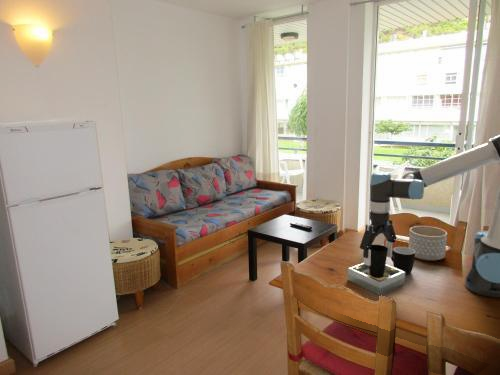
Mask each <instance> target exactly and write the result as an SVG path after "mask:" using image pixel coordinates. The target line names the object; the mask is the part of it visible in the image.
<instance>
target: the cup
mask: <svg viewBox="0 0 500 375" xmlns="http://www.w3.org/2000/svg"><path fill="white" fill-rule="evenodd" d="M369 250H371V264H370V266H369V273H370V276H372V277H375V278H381V277H383V276H384V270H385V264H387V252H388V248H387V247H386V245H384V246H382V245H371V247H370V249H369Z"/></svg>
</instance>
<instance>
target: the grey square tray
mask: <svg viewBox="0 0 500 375" xmlns="http://www.w3.org/2000/svg"><path fill="white" fill-rule="evenodd" d="M405 278H406V275H405V271H402V270H399V269H397V268H394V266H392V265H389V264H387V263H386V264H385V270H384V276H383V277H381V278H375V277H372V276H370V273H369V266H368V265H365V264H364V262H362V263H359V264H355V265H352V266H350V267H348V270H347V281H349V282H351V283H353V284H356V285H357V286H359V287H361V288H364V289H366V290H367V291H369V292H372V293H374V294H376V295H378V296H381V295H383V294H386V293H388V292H390V291H393V290H394V289H397V288H399V287H401V286H404V285H405V281H406V279H405Z"/></svg>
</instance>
